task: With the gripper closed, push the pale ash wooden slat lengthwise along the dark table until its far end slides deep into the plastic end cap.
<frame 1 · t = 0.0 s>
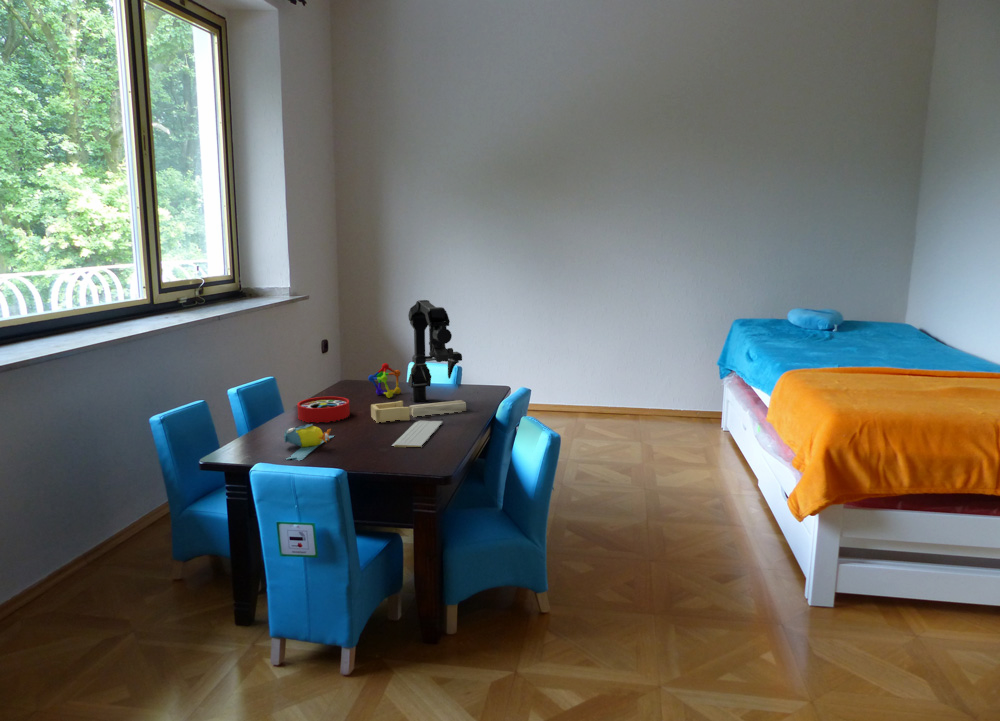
hand: (437, 379, 279), 15 cm above the table, tool pointing down, fingers open, 9 cm apart
ash slat: (438, 413, 286), on the table
baseboard molding: (416, 436, 256), on the table
educational toy: (384, 396, 317), on the table
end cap: (387, 418, 278), on the table
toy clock: (324, 417, 283), on the table
toy airplane: (308, 449, 243), on the table
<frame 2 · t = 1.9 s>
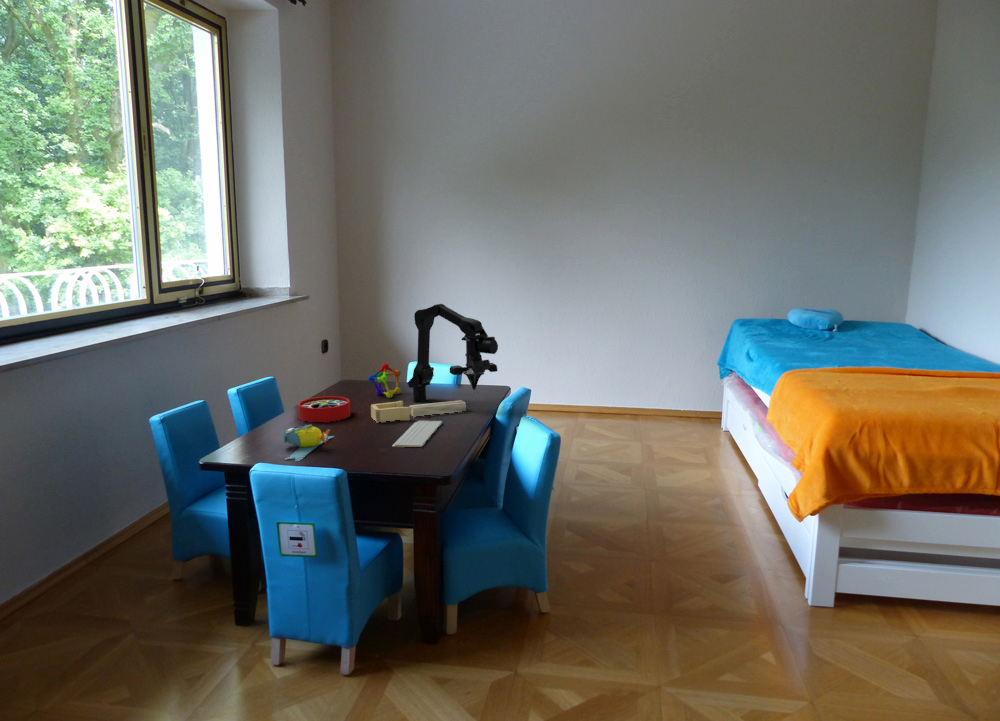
hand: (473, 389, 290), 8 cm above the table, tool pointing down, fingers closed
nothing on the table moved.
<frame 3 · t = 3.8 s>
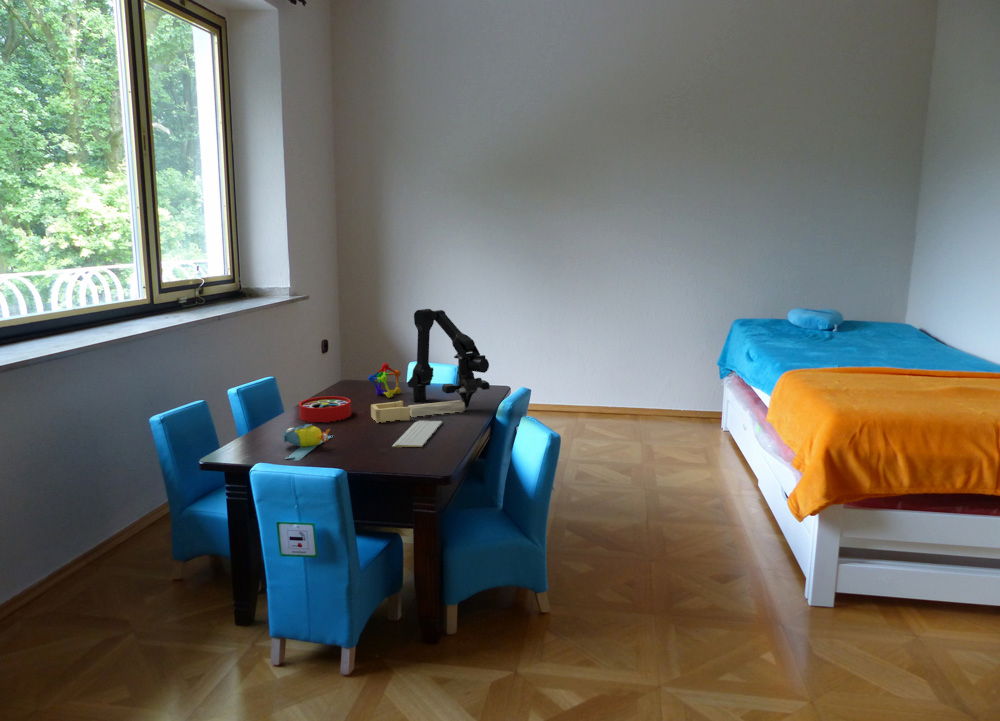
hand: (466, 407, 290), 1 cm above the table, tool pointing down, fingers closed
ash slat: (436, 413, 286), on the table, touching gripper
everything else where it was.
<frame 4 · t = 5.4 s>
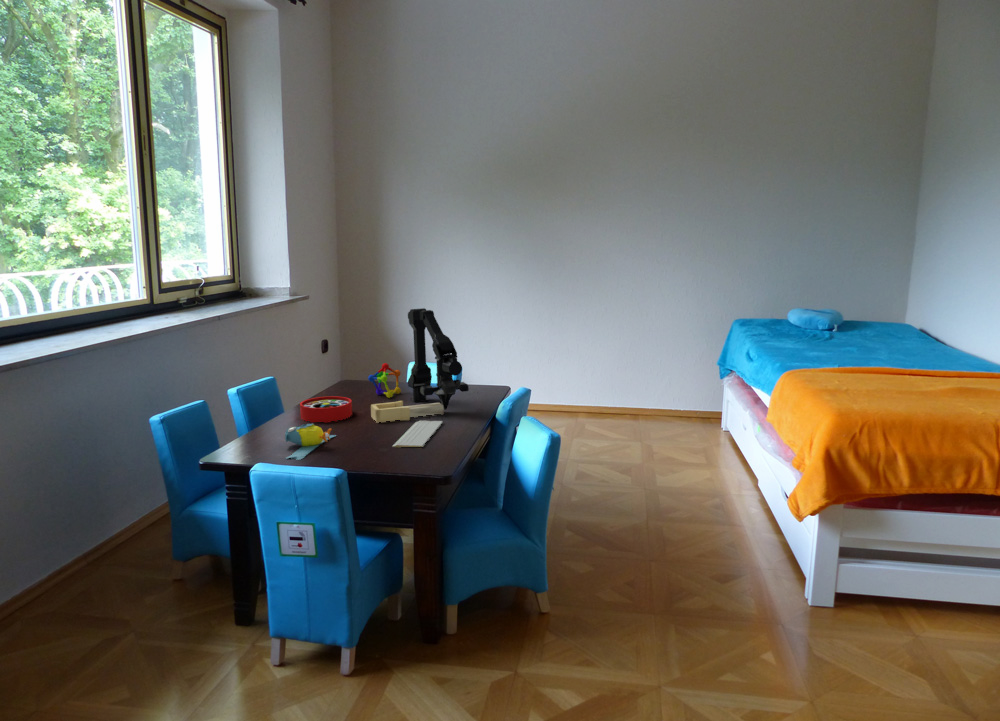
hand: (445, 409, 287), 1 cm above the table, tool pointing down, fingers closed
ash slat: (415, 416, 282), on the table, touching gripper
everything else where it was.
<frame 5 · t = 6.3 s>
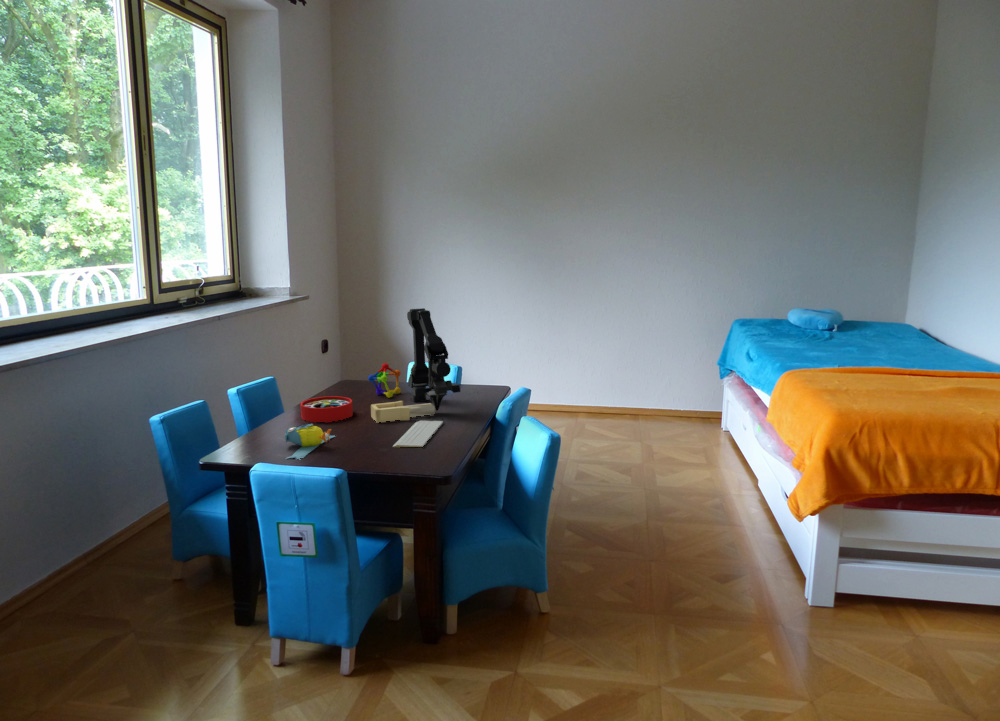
hand: (436, 410, 285), 1 cm above the table, tool pointing down, fingers closed
ash slat: (406, 417, 281), on the table, touching gripper
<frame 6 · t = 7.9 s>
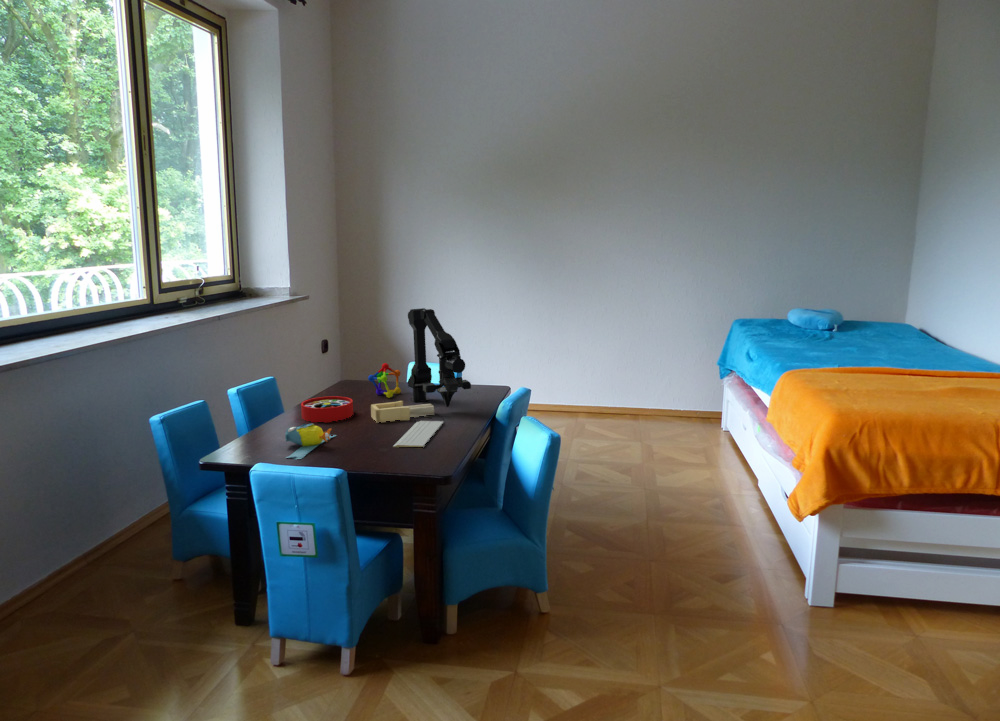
hand: (447, 407, 287), 2 cm above the table, tool pointing down, fingers closed
ash slat: (405, 417, 281), on the table
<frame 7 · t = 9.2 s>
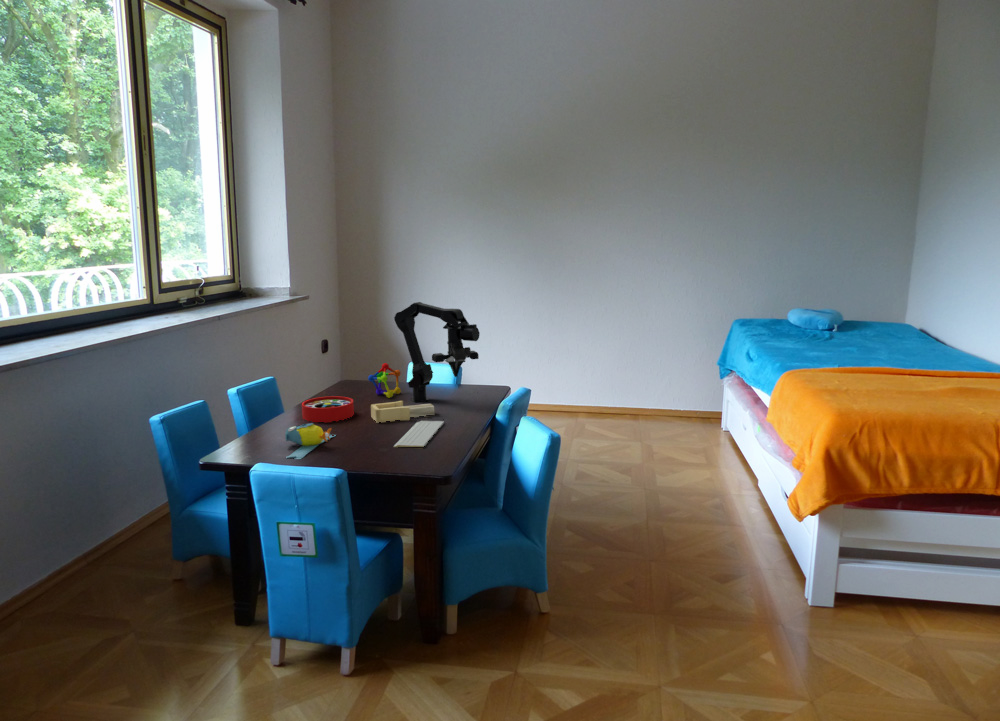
hand: (455, 376, 297), 12 cm above the table, tool pointing down, fingers closed
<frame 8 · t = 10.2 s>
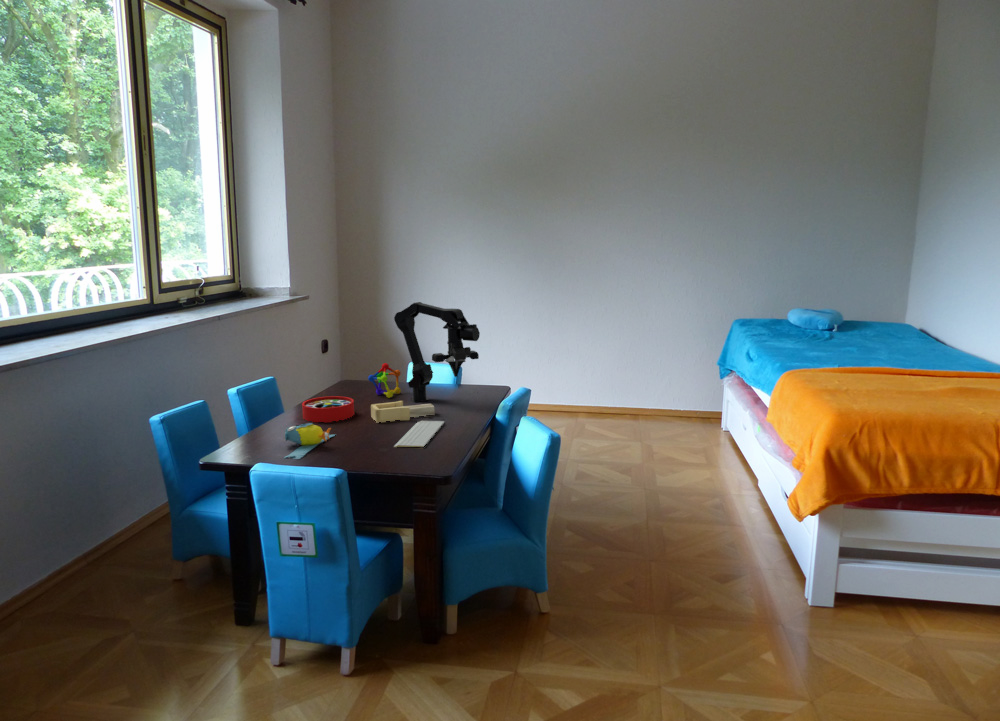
hand: (455, 376, 297), 12 cm above the table, tool pointing down, fingers closed
at the end: ash slat 1.2 cm from the target spot, on the table; ash slat moved 13.4 cm from its start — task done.
